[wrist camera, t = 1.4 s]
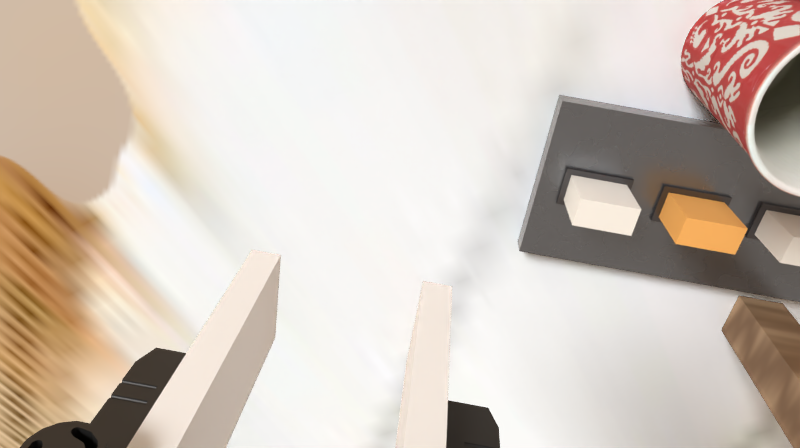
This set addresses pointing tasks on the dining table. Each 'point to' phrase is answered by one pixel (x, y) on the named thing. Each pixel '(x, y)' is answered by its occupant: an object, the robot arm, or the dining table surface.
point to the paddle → (601, 205)
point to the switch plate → (655, 196)
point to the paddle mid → (702, 223)
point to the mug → (752, 80)
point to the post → (769, 356)
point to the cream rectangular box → (781, 236)
